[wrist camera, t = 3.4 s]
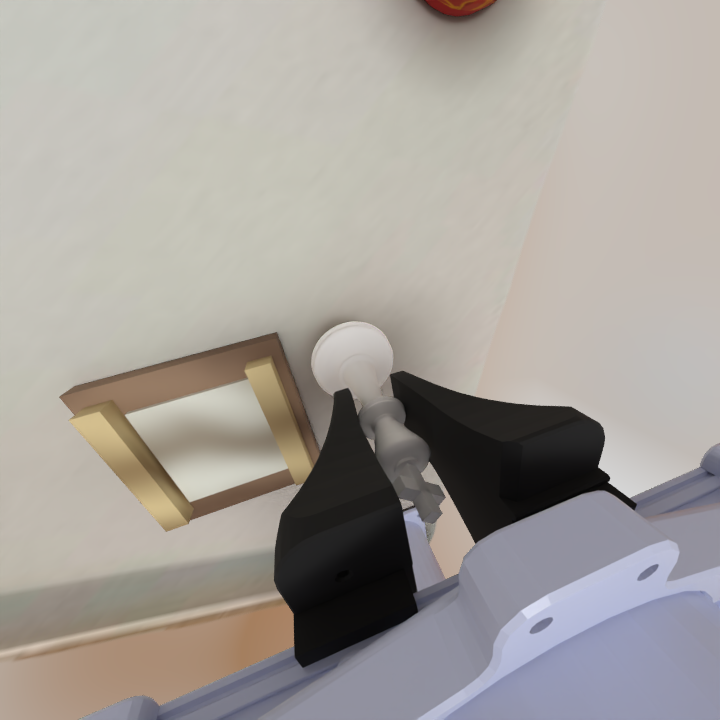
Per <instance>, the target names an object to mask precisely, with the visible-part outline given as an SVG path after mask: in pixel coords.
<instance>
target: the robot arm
mask: <svg viewBox="0 0 720 720" xmlns="http://www.w3.org/2000/svg"><path fill="white" fill-rule="evenodd" d="M390 377H391V383H392V389H393V395H394V398H397V399H398V400H400V401H401V402H402V404H403V405H404V409H405V413H406V418H405V422H404V426H405V427H406V428H407V429H408V430H410V431H411V432H413V433H415V434H416V435H418V436H419V437H420V438H422V439H423V440H424V441H425V442H426V443H427V444H428V446H429V449H430V460H429V462H430V463H431V464H432V466H433V467H434V469H435V471H436V472H437V474H438V476H439V477H440V479H441V481H442V483H443V484H444V486H445V488H446V490H447V491H448V493H449V495H450V497H451V498H452V500H453V502H454V504H455V506H456V508H457V510H458V511H459V513H460V515H461V517H462V519H463V521H464V523H465V525H466V526H467V528H468V530H469V532H470V534H471V536H472V538H473V540H474V542H475V545H474V546H473V548H472V549H471V550H470V551H469V552H468V553H467V554H466V555H465V556H464V559H463V562H462V565H461V568H460V571H459V574H457V575H454V576H452V577H450V578H448V579H445V577H444V575H443V573H442V571H441V569H440V567H439V564H438V562H437V560H436V558H435V556H434V554H433V552H432V550H431V548H430V545H429V543H428V541H427V536H426V529H425V522H422V520H421V518H420V516H419V514H418V512H417V509H416V507H414V508H412V509H409V510H407V511H404V512H403V510H402V505H401V503H400V500H399V498H398V496H397V493H396V491H395V489H394V487H393V485H392V483H391V481H390V480H389V478H388V477H387V475H386V473H385V472H384V470H383V468H382V467H381V465H380V463H379V461H378V459H377V458H376V456H375V454H374V452H373V450H372V448H371V446H370V444H369V442H368V440H367V438H366V436H365V434H364V432H363V430H362V427H361V425H360V423H359V420H358V416H357V412H356V408H355V404H354V400H353V397H352V393H351V392H350V390H349V388H345V389H342V390H339V391H336V392H335V393H334V394H333V396H334V406H333V413H332V418H331V423H330V427H329V430H328V434H327V437H326V440H325V443H324V445H323V448H322V450H321V452H320V455H319V457H318V459H317V461H316V463H315V465H314V467H313V469H312V471H311V472H310V474H309V476H308V477H307V479H306V481H305V482H304V484H303V486H302V487H301V489H300V490H299V492H298V493H297V494H296V496H295V497H294V498H293V500H292V501H291V502H290V504H289V505H288V506H287V508H286V509H285V510H284V511H283V513H282V515H281V519H280V523H279V528H278V534H277V540H276V547H275V565H274V582H275V584H276V587H277V589H278V591H279V592H280V594H281V595H282V597H283V598H284V600H285V601H286V603H287V604H288V606H289V608H290V609H291V611H292V612H293V613H294V647H292V648H289V649H287V650H285V651H282V652H280V653H278V654H276V655H273V656H271V657H269V658H267V659H264V660H262V661H260V662H258V663H255V664H253V665H251V666H249V667H246V668H244V669H242V670H239V671H237V672H235V673H233V674H230V675H228V676H226V677H224V678H221V679H219V680H217V681H214V682H212V683H210V684H208V685H206V686H203V687H201V688H199V689H197V690H194V691H192V692H190V693H187V694H185V695H183V696H181V697H179V698H176V699H174V700H172V701H169V702H167V703H165V704H162V705H160V706H159V705H158V704H157V702H155V701H154V699H152V698H150V697H147V696H134V697H130V698H127V699H124V700H122V701H120V702H117V703H115V704H113V705H110V706H108V707H106V708H103V709H101V710H99V711H96V712H94V713H92V714H89V715H87V716H85V717H82V718H80V719H78V720H720V443H719V444H716V445H715V446H713V447H711V448H710V449H709V450H708V451H707V452H706V453H705V455H704V457H703V458H702V461H701V463H700V466H701V467H699V468H697V469H694V470H692V471H690V472H688V473H686V474H683V475H681V476H679V477H676V478H674V479H672V480H670V481H667V482H665V483H663V484H661V485H658V486H656V487H654V488H651V489H649V490H647V491H645V492H642V493H640V494H638V495H636V496H633V497H631V498H628V497H627V496H626V495H624V494H623V493H621V492H620V491H619V490H617V489H616V488H615V487H613V486H612V485H611V484H609V483H608V481H609V480H610V477H609V475H608V474H607V473H605V472H604V471H602V470H601V469H600V468H598V465H599V461H600V458H601V454H602V451H603V447H604V441H605V435H604V430H603V427H602V426H601V425H600V423H598V422H597V421H595V420H593V419H591V418H590V417H588V416H586V415H585V414H583V413H581V412H579V411H578V410H576V409H574V408H572V407H565V406H536V405H524V404H514V403H506V402H500V401H494V400H488V399H482V398H478V397H474V396H470V395H466V394H462V393H459V392H456V391H453V390H450V389H447V388H444V387H441V386H438V385H436V384H433V383H431V382H428V381H426V380H423V379H421V378H419V377H416V376H414V375H412V374H409V373H407V372H404V371H400V372H397V373H394V374H391V375H390Z"/></svg>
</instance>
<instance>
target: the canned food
mask: <svg viewBox="0 0 720 720" xmlns="http://www.w3.org/2000/svg"><path fill="white" fill-rule="evenodd" d="M425 1H426V2H427V3H428V4H429V5H430V6H431V7H433V8H434V9H436V10H438V11H440V12H442V13H443V14H447V15H452V16H465V15H470V14H472V13H475V12H477V11H479V10H481V9H483V8H485V7H487V6H489V5H491V4H493V3H494V2H495V1H497V0H425Z"/></svg>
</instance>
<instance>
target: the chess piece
mask: <svg viewBox="0 0 720 720" xmlns="http://www.w3.org/2000/svg"><path fill="white" fill-rule="evenodd" d="M311 367H312V372H313V374H314V377H315V379H316V380H317V382H318V384H319V385H320V387H321V388H322V389H323V390H324V391H325V392H327V393H328V394H330V395H331V396H333V394H334V393H335V392H336V391H339V390H342V389H345V388H349V390H350V392H351V393H352V397H353V399H358V400H359V401H360V403H361V404H362V406H363V407H362V409H361V410H360V412H359V414H358V420H359V423H360V425H361V427H362V430H363V432H364V434H365V436H366V437H367V438H369V439H373V440H374V441H375V456H376V458H377V459H378V461H379V463H380V465H381V467H382V468H383V470H384V472H385V473H386V475H387V477H388V478H389V480H390V481H391V483H393V484H392V485H393V487H394V489H395V491H396V493H397V496H398V498H400V499H404V500H409V501H413V503H414V505H415V507H416V509H417V512H418V514H419V516H420V518H421V520H422V522H427V523H432V524H433V523H434V522H435V521H436V520H437V519H438V518H439V517H440V516H441V514H442V512H441V510H440V508H439V505H440V503H441V502H442V501H443V500H444V499H445V498H446V497H445V495H444V493H443V492H442V490H441V488H440V487H439V485H435V484H431V483H428V482H425V481H424V479H423V477H422V475H421V474H420V473H421V472H422V471H423V470H424V469H425V468H426V466H427V465H428V462H429V460H430V449H429V446H428V444H427V443H426V442H425V441H424V440H423V439H422V438H420V437H419V436H418V435H416V434H415V433H413V432H411V431H410V430H408V429H407V428H406V427H405V426H404V425H403V424H404V422H405V418H406V413H405V409H404V405H403V404H402V402H401V401H400V400H398V399H397V398H394V397H390V396H383V393H382V390H381V388H380V387H381V386H382V385H383V384H384V383H385V381H386V380H387V378H388V377H389V375H390V373H391V370H392V367H393V351H392V347H391V345H390V343H389V341H388V339H387V337H386V336H385V334H384V333H383V332H382V331H381V330H380V329H378V328H377V327H375V326H373V325H371V324H369V323H365V322H359V321H352V322H346V323H342V324H339V325H337V326H335V327H333V328H331V329H330V330H328V331H327V332H326V333H325V334H324V335H323V336H322V337H321V338H320V339H319V340H318V342H317V344H316V345H315V347H314V350H313V353H312V358H311Z"/></svg>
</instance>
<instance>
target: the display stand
mask: <svg viewBox="0 0 720 720" xmlns="http://www.w3.org/2000/svg"><path fill="white" fill-rule="evenodd" d="M60 399H61V400H62V401H63V402H64V403H65V404H66V406H67V407H68V408H69V409H70V410H71V411H72V413H73V414H74V415H75V416H73V417H72V418H71V419H70V420H69V421H70V422H71V424H72V425H73V426H74V427H75V428H76V429H77V430H78V432H79V433H80V434H81V435H82V436H83V437H84V438H85V439H86V441H87V442H88V443H89V444H90V445H91V446H92V447H93V449H94V450H95V451H96V452H97V453H98V454H99V455H100V457H101V458H102V459H103V460H104V461H105V462H106V463H107V465H108V466H109V467H110V468H111V469H112V470H113V471H114V473H115V474H116V475H117V476H118V477H119V478H120V479H121V481H122V482H123V483H124V484H125V485H126V486H127V487H128V489H129V490H130V491H131V492H132V493H133V494H134V495H135V497H136V498H137V499H138V500H139V501H140V502H141V503H142V505H143V506H144V507H145V508H146V509H147V510H148V511H149V513H150V514H151V515H152V516H153V517H154V518H155V519H156V521H157V522H158V523H159V524H160V525H161V526H162V527H163V529H164V530H165V531H166V532H167V531H170V530H172V529H175V528H178V527H181V526H184V525H186V524H189V521H190V520H193V519H195V518H198V517H201V516H204V515H207V514H210V513H212V512H215V511H218V510H221V509H224V508H227V507H229V506H232V505H235V504H238V503H241V502H244V501H246V500H249V499H252V498H255V497H258V496H260V495H263V494H266V493H269V492H272V491H275V490H277V489H280V488H283V487H286V486H289V485H292V484H294V483H295V484H296V485H299V484H302V483H304V482H305V481H306V479H307V477H308V476H309V474H310V472H311V471H312V469H313V467H314V465H315V463H316V461H317V459H318V457H319V455H320V451H319V448H318V445H317V443H316V440H315V437H314V434H313V432H312V429H311V426H310V423H309V420H308V418H307V415H306V412H305V409H304V407H303V404H302V401H301V398H300V395H299V393H298V390H297V387H296V384H295V382H294V379H293V376H292V373H291V370H290V368H289V365H288V362H287V359H286V357H285V354H284V351H283V348H282V345H281V343H280V340H279V337H278V334H277V332H276V333H272V334H268V335H265V336H261V337H257V338H254V339H250V340H246V341H242V342H239V343H235V344H231V345H227V346H224V347H220V348H216V349H212V350H209V351H205V352H201V353H198V354H194V355H190V356H186V357H183V358H179V359H175V360H171V361H168V362H164V363H160V364H156V365H153V366H149V367H145V368H142V369H138V370H134V371H130V372H127V373H123V374H119V375H115V376H112V377H108V378H104V379H100V380H97V381H93V382H89V383H86V384H82V385H78V386H74V387H73V388H71V389H70V390H69V391H67V392H66V393H64V394H63V395H61V396H60Z"/></svg>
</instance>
